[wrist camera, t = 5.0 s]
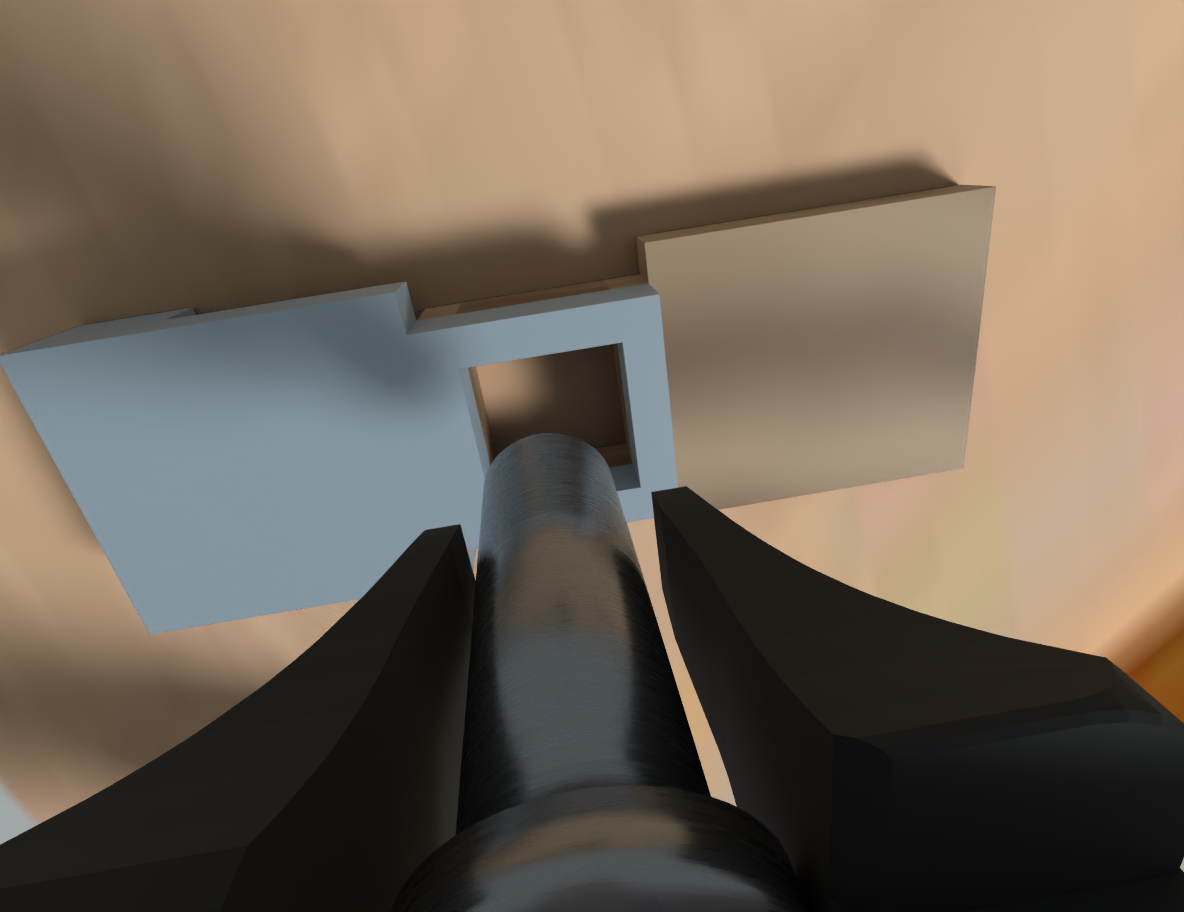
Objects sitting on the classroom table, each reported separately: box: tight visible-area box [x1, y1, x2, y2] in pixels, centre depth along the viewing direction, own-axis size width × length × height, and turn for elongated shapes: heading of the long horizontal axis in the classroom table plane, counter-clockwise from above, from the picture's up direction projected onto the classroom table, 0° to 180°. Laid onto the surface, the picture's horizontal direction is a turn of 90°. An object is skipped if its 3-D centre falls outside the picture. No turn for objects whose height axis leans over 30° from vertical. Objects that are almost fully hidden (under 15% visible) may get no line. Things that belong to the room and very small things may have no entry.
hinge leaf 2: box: [417, 185, 996, 510], centre depth 18 cm, size 8×15×2 cm, turn 98°
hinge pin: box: [391, 433, 810, 912], centre depth 9 cm, size 4×4×9 cm
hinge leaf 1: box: [0, 281, 678, 634], centre depth 18 cm, size 8×15×3 cm, turn 98°
